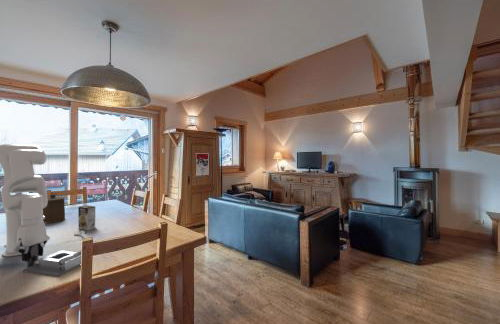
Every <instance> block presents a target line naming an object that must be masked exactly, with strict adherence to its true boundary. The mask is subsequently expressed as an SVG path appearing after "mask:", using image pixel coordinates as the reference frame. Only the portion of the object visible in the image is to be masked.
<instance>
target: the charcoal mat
mask: <svg viewBox="0 0 500 324" xmlns="http://www.w3.org/2000/svg"><path fill="white" fill-rule="evenodd" d="M78 267H81V266H80V264H79V265H77V266H75V267H73V268H71V269H69V270H67V271H61V270H53V269H45V268H38V267H34V265H33V266H31V267H26V268H24V269H22V272H23V273H29V274H37V275H42V276H50V277H58V278H59V277H61V276H63V275H65V274H67V273H69V272H71V271H73V270H75V269H77V268H78Z"/></svg>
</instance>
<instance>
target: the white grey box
mask: <svg viewBox="0 0 500 324" xmlns="http://www.w3.org/2000/svg"><path fill="white" fill-rule="evenodd" d="M81 251H82V250H79V251H77V252H76V251H69V250H59V251H57V252H56V251H55V252H54V253H51V254H48V255H46V256H44V257H43V256H42V257H41V258H39V263H40V264H47V265H55V266H61V271H67V270H69V269H71V268H73V267H75V266H77V265H79V264H81ZM60 257H63V258H61V259H57V258H60Z"/></svg>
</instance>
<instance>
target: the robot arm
mask: <svg viewBox="0 0 500 324" xmlns="http://www.w3.org/2000/svg"><path fill="white" fill-rule="evenodd" d="M46 162H47V157H46V153H45V151H44V150H43V148H41V147H40V146H39V145H36V144H20V143H19V144H18V143H13V144H12V143H6V144H1V145H0V166H1V168H2V170H3V175H4V184H3V186H2V188H1V192H0V196H1V203H2V208H3V210H4V213H5V223H6V224H5V226H6V228H5V229H6V244H5V245H4V246H3V248H5V249H6V250H4V251H3V252H2V256H3V257H18V256H21V261H22V262H25V263H26V262H28V261H29V253H27V252H28V249H29V246H32V245H35V244H38V252H39V257H43V256H44V248H45V247H46V246H45V245H47V243H48V241H49V240H50V239H51V236H49V235H47V227H46V223H44V222H43V219H45V216H43V208H45V207H46V206H47V204H48V199H47V198H48V194H47V193H48V192H47V188H46V182H45V178H44V177H43V176H42V175H40V174H39V175H38V174H35V170H34V166H35V165H36V166H41V165H44V164H45V163H46ZM31 192H32V193H31ZM19 193H20V194H19Z"/></svg>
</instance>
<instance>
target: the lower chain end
mask: <svg viewBox="0 0 500 324" xmlns="http://www.w3.org/2000/svg"><path fill="white" fill-rule="evenodd" d="M61 258H63V257H60V258H57V259H61ZM34 267H38V268H45V269H53V270H61V266H55V265H47V264H40V263H39V260H37V261H35V262H34Z"/></svg>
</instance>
